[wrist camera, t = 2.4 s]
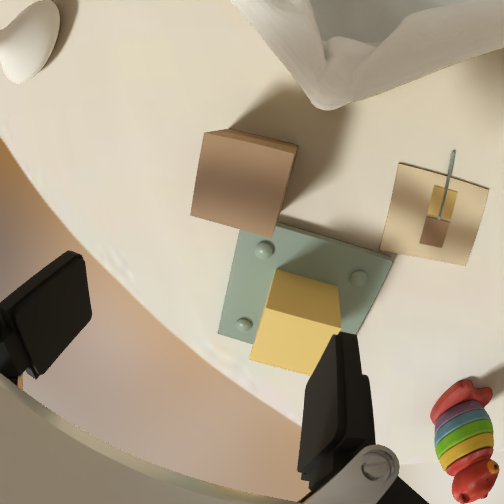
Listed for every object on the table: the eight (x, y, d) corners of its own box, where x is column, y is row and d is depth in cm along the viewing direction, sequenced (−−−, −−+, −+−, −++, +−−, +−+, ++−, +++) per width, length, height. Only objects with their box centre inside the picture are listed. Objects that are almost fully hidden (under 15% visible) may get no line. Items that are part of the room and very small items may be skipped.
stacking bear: (495, 388, 30) (522, 478, 14) (452, 424, 35) (467, 509, 19) (461, 376, 30) (491, 485, 14) (414, 416, 35) (425, 516, 19)
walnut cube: (228, 128, 23) (204, 132, 18) (298, 145, 23) (294, 153, 18) (215, 193, 26) (190, 215, 21) (280, 211, 26) (271, 238, 20)
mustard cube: (275, 268, 27) (265, 307, 22) (337, 286, 26) (341, 328, 21) (260, 317, 30) (248, 359, 24) (316, 333, 29) (314, 376, 24)
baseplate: (245, 213, 26) (241, 218, 25) (390, 256, 25) (393, 263, 24) (220, 327, 33) (216, 335, 32) (336, 359, 32) (336, 367, 31)
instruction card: (402, 137, 21) (403, 137, 20) (492, 166, 19) (494, 167, 19) (379, 249, 25) (379, 250, 25) (464, 265, 24) (465, 266, 24)
